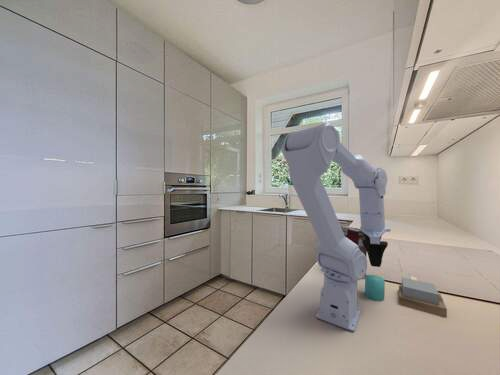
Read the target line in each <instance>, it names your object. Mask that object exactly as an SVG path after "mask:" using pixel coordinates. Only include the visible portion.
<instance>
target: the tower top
mask: <svg viewBox="0 0 500 375" xmlns="http://www.w3.org/2000/svg"><path fill="white" fill-rule="evenodd" d="M401 285H402V292H403V296H404V297H408V298H412V299H416V300H420V301H424V302H428V303H432V304H436V305H439V293H440V292H439V290H438V289H437V287H436V285H435V283H430V282H426V281H421V280H418V279H417V280H416V279H412V278H408V277H403V276H402V277H401Z"/></svg>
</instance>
